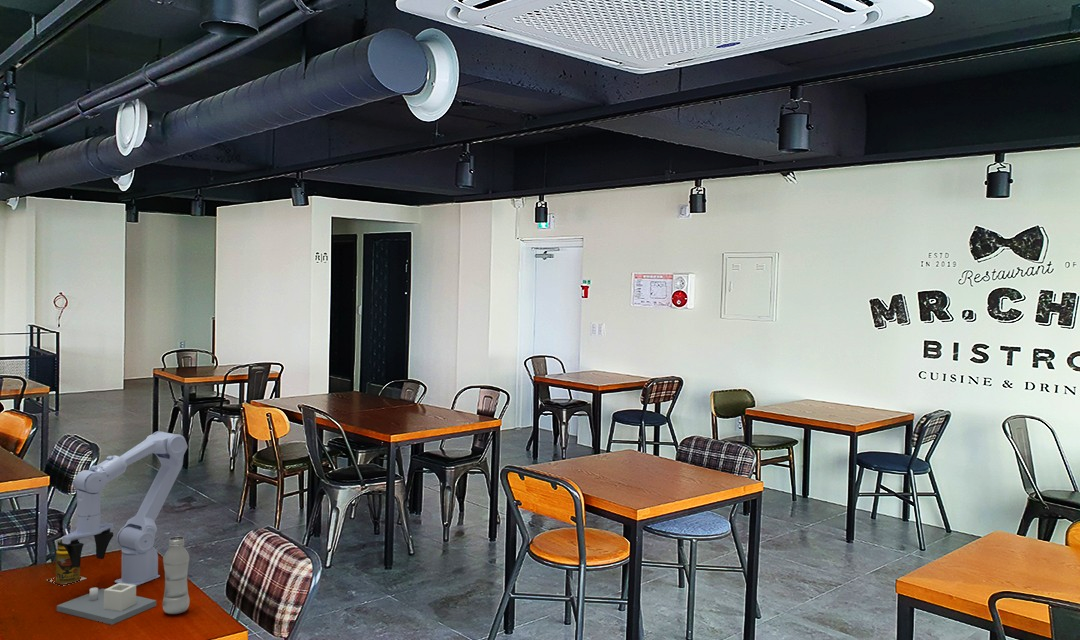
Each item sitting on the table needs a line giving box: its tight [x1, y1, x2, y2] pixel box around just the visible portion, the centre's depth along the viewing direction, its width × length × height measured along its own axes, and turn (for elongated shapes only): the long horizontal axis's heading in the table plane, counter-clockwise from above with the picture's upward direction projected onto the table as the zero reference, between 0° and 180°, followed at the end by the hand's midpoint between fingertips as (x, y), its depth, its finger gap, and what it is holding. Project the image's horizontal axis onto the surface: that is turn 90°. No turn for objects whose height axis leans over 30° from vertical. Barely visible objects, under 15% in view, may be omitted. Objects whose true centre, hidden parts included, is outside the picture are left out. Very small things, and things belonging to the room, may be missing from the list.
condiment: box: [46, 539, 87, 587], centre depth 240 cm, size 7×8×12 cm
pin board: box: [56, 587, 157, 626], centre depth 220 cm, size 14×20×4 cm
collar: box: [104, 583, 137, 611], centre depth 218 cm, size 5×5×5 cm
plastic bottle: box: [161, 536, 191, 615], centre depth 219 cm, size 6×7×20 cm
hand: (88, 562), depth 228 cm, fingers open, 7 cm apart
